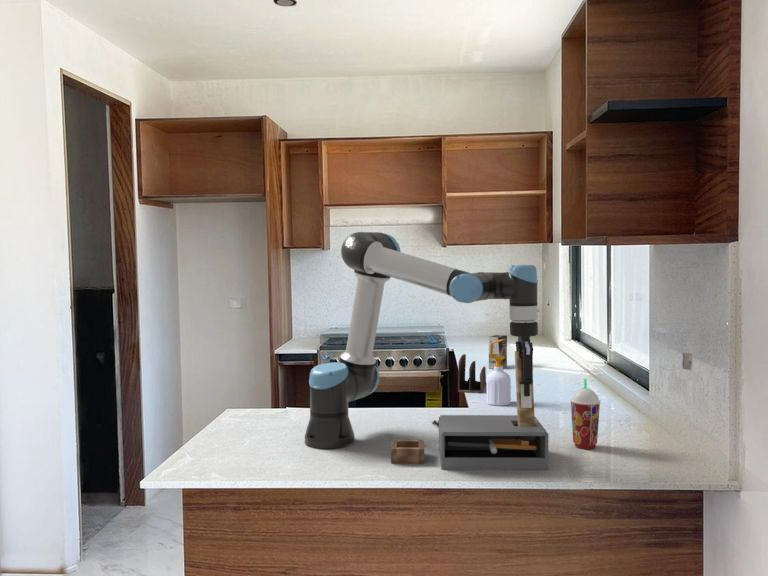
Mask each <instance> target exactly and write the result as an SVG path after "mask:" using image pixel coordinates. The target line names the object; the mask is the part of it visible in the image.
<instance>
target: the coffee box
mask: <svg viewBox="0 0 768 576" xmlns="http://www.w3.org/2000/svg"><path fill="white" fill-rule="evenodd" d="M501 339H503V341H501V342H497V343H494V344H493V355H494V356H503V357H505V358H504V359H502V361H501V364H502V365H503V369H504V368H505V369H506V368H507V367H508V335H505V334H504V335H503V334H496V335H490V336H488V369H493V370H494V364H496V361H495V359H492V358H491V357H490V345H491V343H493V342H494V341H497V340H501Z"/></svg>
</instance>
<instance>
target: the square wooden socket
mask: <svg viewBox="0 0 768 576" xmlns="http://www.w3.org/2000/svg"><path fill="white" fill-rule="evenodd" d="M424 442H425V439H391V447H390V463H391V464H392V465H393V464H395V465H396V464H400V465H401V464H402V465H403V464H405V465H406V464H409V465H410V464H412V465H413V464H414V465H415V464H417V465H418V464H419V465H420V464H422V465H423V464H425V444H424Z"/></svg>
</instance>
